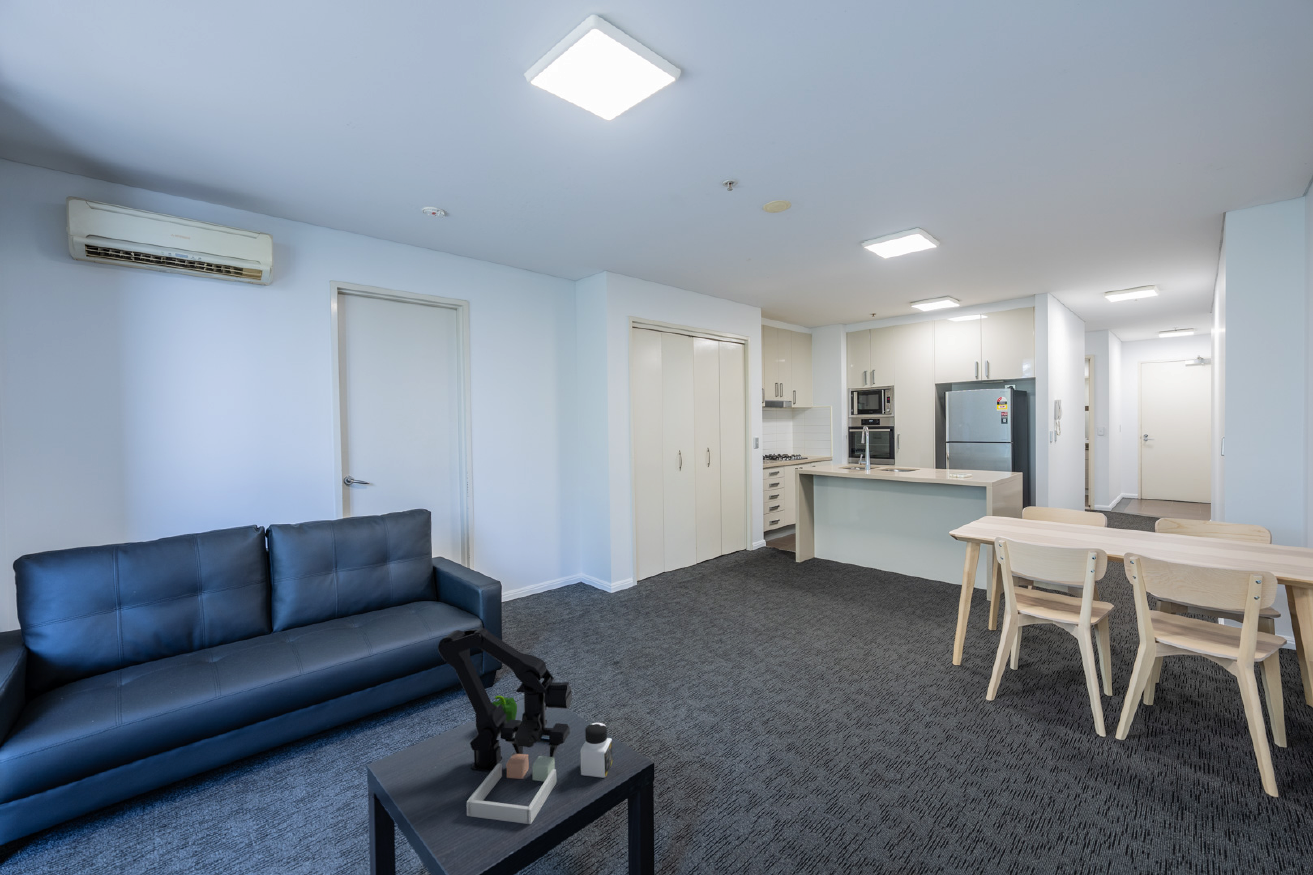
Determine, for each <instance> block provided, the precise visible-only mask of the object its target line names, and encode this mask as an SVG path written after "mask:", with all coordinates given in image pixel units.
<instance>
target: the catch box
mask: <svg viewBox="0 0 1313 875" xmlns="http://www.w3.org/2000/svg"><path fill="white" fill-rule="evenodd" d="M502 765H503V764H502V763H500V762H499V763H498V764H497V765H496V767H495V768H494V769H493V770H492V771H490V772H489V774H488V775H487V776H486V777H485V778H484V780H483V781H482V782H481V784H480V785H479V786H478V787H477V788H476V790H475V791H473V793H472V794H471V796H470V797H469V798H468V800H467V801H466V816H467V817H472V818H473V817H474V818H479V819H480V818H481V819H488V820H489V819H490V820H497V821H504V822H512V823H517V824H518V823H519V824H525V825H526V824H527V825H532V823H533V821H534V820H535V819H536V817H537V815H538V814H539V812H540V811H541V809H542V806H544V804H545V802H546V801H547V799H548V797H549V795H550V794H551V792H552V790H553V789H554V787H555V785H556V784H557V769H556V768H555V769H552V771H551V773H550V774H549V776H548V777H547V779H546V780H545V781H543V784H542V785H541V787H540V788H539V790H538V791H537V792H536V794H535V796H534V797H533V799H532V801H531V802H530V803H529V805H528V806H527V805H520V804H511V803H501V802H498V801H497V802H496V801H489V800H485V799H486V797H487V796H488V795H489V794H490V792H491V791H492V790H493V788H494V787H495V786H496V784H498V782H499V781H500V779H501V778H502V777H503V767H502Z"/></svg>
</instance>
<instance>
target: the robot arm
mask: <svg viewBox="0 0 1313 875" xmlns="http://www.w3.org/2000/svg"><path fill="white" fill-rule="evenodd" d="M476 647H477V648H478V649H481V650H482V651H483V652H485V653H487V654H488V655H489V656H491V657H493V658H494V659H495V660H497V661H498V662H500V663H502V664H503V665H505V666H506V667H507V668H509V669H510V670H511V671H512V672H513V674H514V676H515V678H516V679H518V680H519V682H521V684H520V685H519V686H518V687H517V688H516V693H523V708H524V709H523V713H522V714H521V715H522V717H521V720H520V719H519V720H518V719H515V720H509V721H508V722H507V720H506V717H507V715H506V714H505V712H504V711H503V707H502V705H501V704H500V705H498V706H495V705H494V704H493V703H492V702H493V701H491V699H490V697H489V694H488V693H487V691H486V689H485V687H484V684H483V682H482V680H481V678H480V676H479V674H478V672H477V670H476V667H475V665H474V664H473V661H472V659H471V649H473V648H476ZM437 650H438V653H439V655H440V656H441V658H442V659H443V661H444V662H445V663H447V664H448V665H449V666H451V667H452V668H453V669H454V672H456V675H457V677H458V680H459V681H460V683H461V686H462V688H463V690H464V692H465V695H466V696H467V698H468V700H469V703H470V704H471V706H472V709H473V711H474V714H475V728H476V732H477V733H476V735H475V737H474V738H473V739H472V740H471V741H470V743H469V745H470V747H471V750H472V751H473V758H474V759H473V764H472V766H471V770H477V771H486V772H491V771H492V770H493V769H494V768H495V767H496V765H497V764H498V763H500V762H502V760H503V756H502V748H501V745H500V740H499V739H498V738H499V736H500V739H501V740H505V741H504V742H507V743H509V744H511V745H512V747H513V749H514V751H515V754H524V747H526V748H532V747H533V746H534V745H535V744H536V742H538V743H539V742H541V740H542V737H543V736H546V737H548V738H549V740H548V741H549V743H548V747H549V757H555V756H556V753H557V749H558V747H559V746H560V745H562V744H564V743H565V741H566V740H567V738H568V737H569V735H570V732H571V730H570V726H569V724H568V723H555V724H554V725H553V727H546V725H547V724H548V719H546V711H547V708H548V709H567V710H569V709H570V707H571V704H572V700H573V690H572V688H571V686H570V682H569V681H563V682H558V681H557V682H556V681H555V678H554V676H553V675H552V673H551V672H550V671H549V669H548V668H547V665H546V664H547V663H546V662H545V661H544V660H543V659H541V658H540V657H537V656H534V655H533V654H526V653H523V652H521V651H519V650H517V649H515V648H514V647H513V646H511V645H510V644H508V643H507V642H505V641H504V640H502V639H500V638H499V637H497V636H496V635H494V634H493V633H491V632H490V631H489V630H488V629H487V628H484V627H483V628H482V627H481V628H477V629H467V630H460V629H455V630H453V631H452V632H450V633H449V634H447V635H446V636H445V637H443V638H442V639H441V640H440V641H439V643H438V645H437ZM542 679H543V681H542V682H541V680H542ZM554 681H555V682H554Z"/></svg>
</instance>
